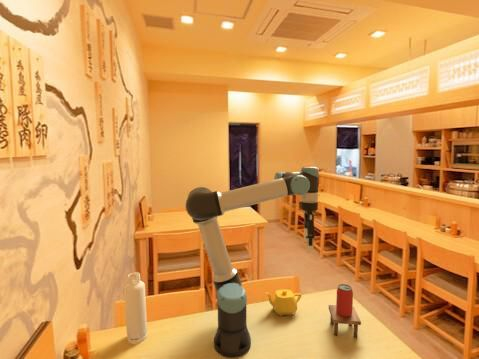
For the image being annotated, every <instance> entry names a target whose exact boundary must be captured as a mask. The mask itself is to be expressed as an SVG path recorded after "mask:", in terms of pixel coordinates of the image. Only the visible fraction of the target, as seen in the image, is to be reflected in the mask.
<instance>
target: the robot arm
mask: <svg viewBox="0 0 479 359" xmlns="http://www.w3.org/2000/svg"><path fill="white" fill-rule="evenodd" d="M319 178H320V175H319V168H318V167H317V166H303V167H301V168H300V171H278V172H275V174H274V178H273V179H271V180H268V181H263V182H258V183H255V184H251V185H247V186H243V187H239V188H234V189H230V190H226V191H221V192H220V191H219V190H216V191H212V190H211V189H209V188H207V187H205V186H198V187H196V188H194V189H192V190H191V191H189V193H188V194H187V199H186V200H185V201H186V202H185V209H186V210H185V211H186V213H187V214H188V215H189V216H190V217H191V220H192V222H193V224H195V225H197V226H198V229H199V231H200V234H201V235H200V236H201V237H202V238H201V239H202V242H203V244H204V247H205V250H206V253H207V255H208V259H209V262H210V266H211V268H212V271H213V275H212V278H211V279H212V282H213V286H214V289H215V293H216V304H217V329H216V331H215V335H214V339H213V347H214V350H215V352H216V353H217V354H218V355H220V356H222V357H225V358H239V357H242V356H244V355H246V354H247V353H248V352H249V350H250V349H251V346H252V338H251V334H250V332H249V330H248V329H249V328H248V326H247V302H248V298H247V292H246V289H245V288H244V287H243V283H242V280H241V278H240V276H239V273H238V269H237V268H236V267H233V265H232V261H231V259H230V256H229V255H230V254H229V252H228V250H227V247H226V242H225V239H224V236H223V234H222V230H221V228H220V224H219V221H218V217H220V216H224V215H225V213H226V212H229V211H234V210H237V209H242V208H245V207H249V206H253V205H257V204H262V203H265V202H268V201H273V200H276V199H281V198H284V197H285V198H286V197H289V196H294V195H296V196H300V200H301V201H300V210H302V211H304V213H303V216H304V218H303V227H304V228H303V242H304V243H306V253H307V254H308V253H310V254H311V253H312V254H313V253H314V245H315V244H314V241H315V236H316V235H315V214H314V213H313V212H316V211H318V210H319V202H318V201H319V197H320V193H319V182H320V181H319V180H320V179H319Z"/></svg>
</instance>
